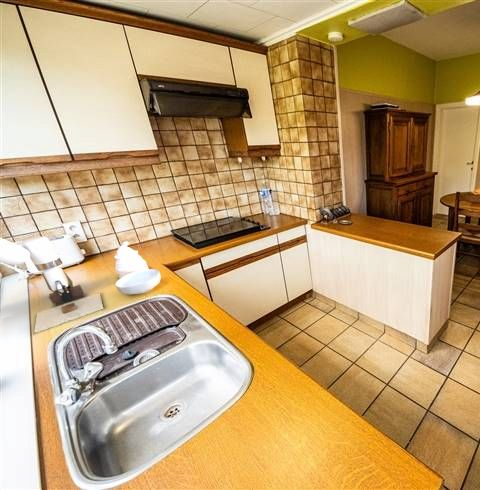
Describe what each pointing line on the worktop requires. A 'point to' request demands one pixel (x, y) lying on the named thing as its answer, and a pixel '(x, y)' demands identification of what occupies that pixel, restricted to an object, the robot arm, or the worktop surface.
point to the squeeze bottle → (56, 288)
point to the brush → (75, 291)
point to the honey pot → (128, 261)
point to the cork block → (68, 308)
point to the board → (57, 316)
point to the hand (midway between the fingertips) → (69, 297)
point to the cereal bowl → (139, 281)
